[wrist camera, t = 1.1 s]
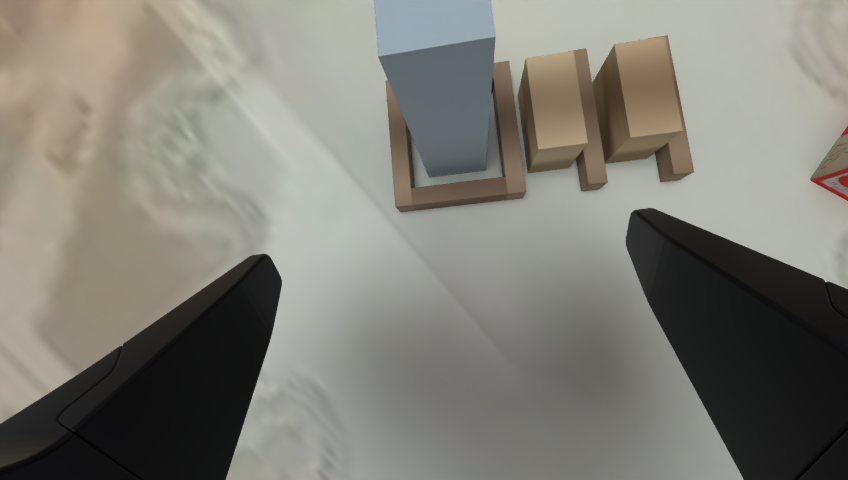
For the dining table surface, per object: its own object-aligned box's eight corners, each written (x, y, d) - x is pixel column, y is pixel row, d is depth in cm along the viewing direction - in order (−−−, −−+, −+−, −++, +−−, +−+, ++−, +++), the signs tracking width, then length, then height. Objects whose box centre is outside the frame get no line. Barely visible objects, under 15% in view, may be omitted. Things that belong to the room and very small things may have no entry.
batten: (485, 170, 23) (495, 36, 11) (429, 177, 24) (378, 56, 11) (478, 109, 24) (480, -83, 11) (423, 117, 24) (369, -60, 12)
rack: (679, 179, 22) (694, 171, 20) (400, 211, 24) (395, 206, 22) (655, 51, 23) (667, 35, 21) (391, 93, 25) (385, 80, 23)
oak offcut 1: (568, 168, 23) (587, 143, 19) (527, 173, 23) (538, 149, 19) (557, 90, 23) (573, 50, 19) (517, 96, 24) (525, 58, 20)
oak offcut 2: (645, 159, 22) (683, 130, 18) (603, 164, 22) (630, 137, 18) (631, 79, 23) (664, 36, 19) (590, 86, 23) (614, 44, 19)
